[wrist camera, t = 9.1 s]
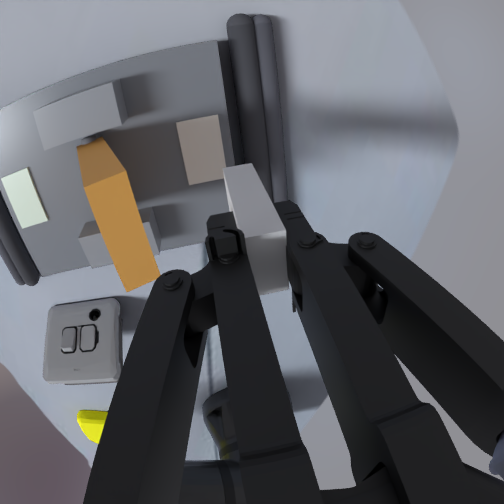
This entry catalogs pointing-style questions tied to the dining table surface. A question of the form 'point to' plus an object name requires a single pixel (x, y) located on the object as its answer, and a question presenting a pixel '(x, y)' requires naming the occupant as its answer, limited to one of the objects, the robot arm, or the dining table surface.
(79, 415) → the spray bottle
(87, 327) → the electrical switch
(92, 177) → the lever
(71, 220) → the breaker panel
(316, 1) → the dining table surface
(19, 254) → the cable bundle
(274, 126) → the cable bundle
